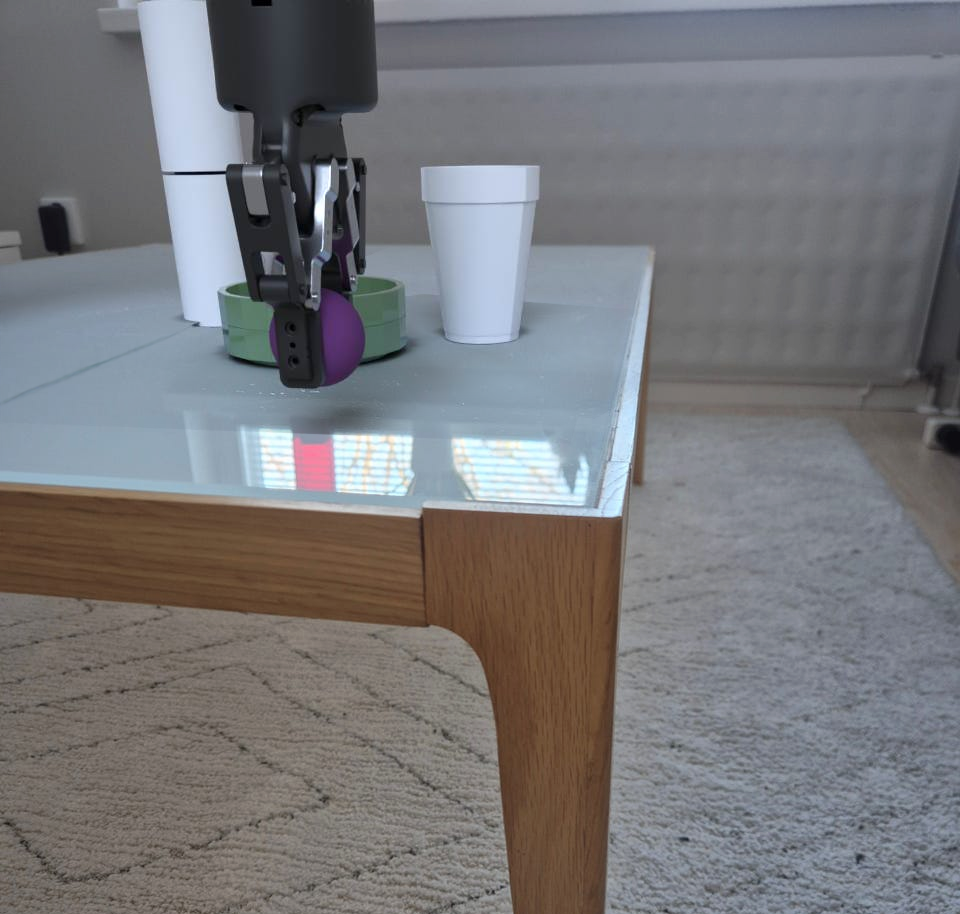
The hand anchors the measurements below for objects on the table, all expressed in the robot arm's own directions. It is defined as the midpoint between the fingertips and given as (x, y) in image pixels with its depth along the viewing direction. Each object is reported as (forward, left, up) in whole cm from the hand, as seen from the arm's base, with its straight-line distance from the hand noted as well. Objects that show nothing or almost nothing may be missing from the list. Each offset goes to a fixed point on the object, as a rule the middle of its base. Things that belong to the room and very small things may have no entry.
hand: (320, 373), depth 50 cm
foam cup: (+3, +33, -4) cm, 33 cm away
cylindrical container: (-23, +39, -4) cm, 45 cm away
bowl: (-9, +25, -4) cm, 27 cm away
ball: (0, 0, +2) cm, 2 cm away
